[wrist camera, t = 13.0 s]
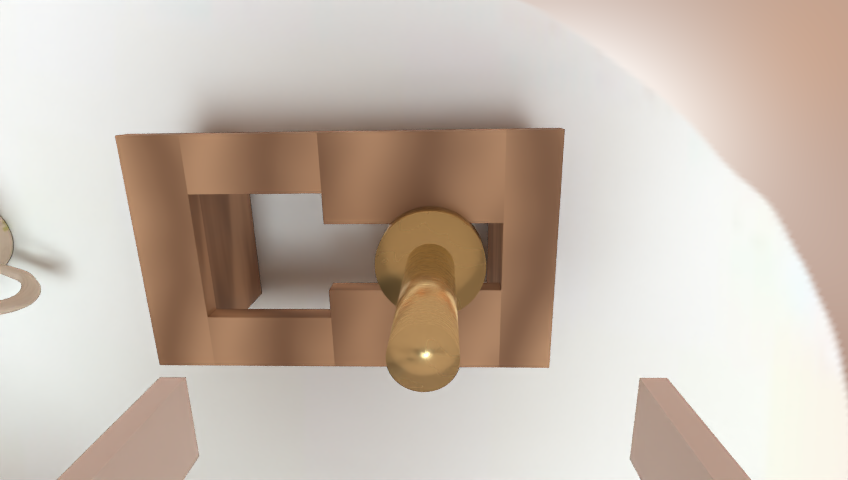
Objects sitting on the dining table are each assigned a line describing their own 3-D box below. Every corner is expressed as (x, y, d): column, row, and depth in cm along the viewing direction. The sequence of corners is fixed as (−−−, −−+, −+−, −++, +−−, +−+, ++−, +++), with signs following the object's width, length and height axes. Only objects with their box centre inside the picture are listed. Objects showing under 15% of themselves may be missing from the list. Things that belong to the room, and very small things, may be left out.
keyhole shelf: (223, 304, 39) (159, 364, 30) (196, 125, 35) (114, 135, 26) (524, 305, 38) (549, 367, 29) (533, 120, 34) (564, 129, 25)
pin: (389, 275, 33) (343, 431, 18) (386, 189, 31) (331, 279, 16) (477, 275, 33) (506, 433, 18) (478, 188, 31) (512, 278, 16)
